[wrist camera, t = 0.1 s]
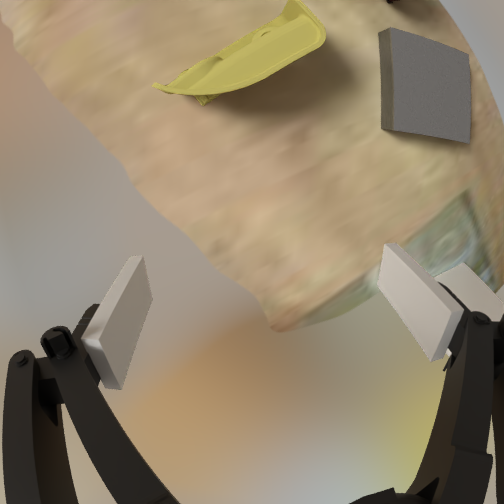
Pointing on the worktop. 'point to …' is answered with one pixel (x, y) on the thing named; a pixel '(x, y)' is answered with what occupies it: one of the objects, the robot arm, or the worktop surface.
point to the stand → (424, 86)
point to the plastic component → (252, 55)
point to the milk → (472, 292)
